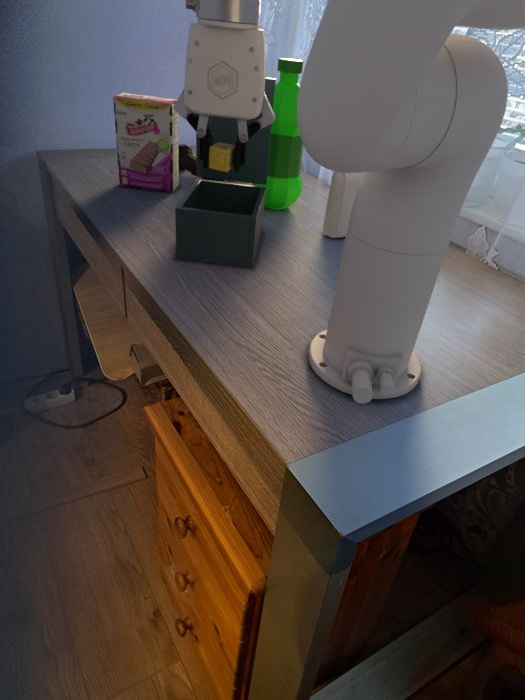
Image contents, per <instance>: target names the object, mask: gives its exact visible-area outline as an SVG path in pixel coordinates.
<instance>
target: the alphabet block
mask: <svg viewBox="0 0 525 700" xmlns="http://www.w3.org/2000/svg"><path fill="white" fill-rule="evenodd" d="M234 152H235V145H230V144H225V143H221V142H218V143H216V144H214V145H212V146H210V147H209V168H211V169H216V170H220V171H224V172H228V171H229V170H231V169H232V168H234Z"/></svg>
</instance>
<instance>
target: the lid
mask: <svg viewBox="0 0 525 700" xmlns="http://www.w3.org/2000/svg"><path fill="white" fill-rule="evenodd" d="M276 81H277V78H275V77H266V76H265V94H266V96H267V99H268V101H269V103H270V105H271V108H272V110H273V106H274V94H275V85H276V84H277V82H276ZM196 114H197V113H196ZM197 115H198V116H199V115H200V114H197ZM262 116H263V114H262V111H261V113H260V114H259V116H258V117H256V118H254V119H249V124H251V123H252V122H253V121H255V120H257V119H259V118H260V117H262ZM271 129H272V124H270V125H268V126H266V127H264V128H262V129H260V130H259V131H258V132H256V133H255V134H254V135H253V136H252V137H251V138H250V139H249V140H247V152H246V163H245V165H241V169H240V171H239V172H235V171H234V168H232V169H231V170H229V171H228V172H224V171H220V170H216V169H211V168H203V160H200V159H199V145H200V137H198V135H197V132H196V131H195V149H196V150H195V152H196V153H195V157H196V176H195V177H196V178H201V177H204V178H212V179H220V180H225V181H229V182H238V183H247V184H252V183H254V184H262V185H266V184H267V174H268V163H269V151H270V140H271ZM209 130H210V131H211V134H212V135H211V136H213V144H212V145H214V144H216V143H218V142H221V143H225V144H230V145H235V142H236V141H237V137H238V135H239V132H238V121H237V118H228V117H220V116H212V117H211V123H210V128H209Z"/></svg>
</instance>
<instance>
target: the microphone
mask: <svg viewBox="0 0 525 700" xmlns="http://www.w3.org/2000/svg"><path fill="white" fill-rule="evenodd" d="M178 148H179V172H180V171H187V172H190V174H191V175H192V176H194V177H197V176H196V156H195V155H194V154H193V149H192V148H190V147H189V146H188V145H187V144H186V143H182V144H178ZM200 179H203V180H211V181H219V182H226V180H220V179H212V178H204V177H200Z"/></svg>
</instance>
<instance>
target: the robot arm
mask: <svg viewBox="0 0 525 700" xmlns="http://www.w3.org/2000/svg"><path fill="white" fill-rule="evenodd" d="M261 4H262V0H185V9H186V10H191V11H192V12H194V13H195V17H196V18H197V21H190V23H189V28H188V35H187V43H186V53H185V65H184V85H183V90H182V91H181V93H180V95H179V96H178V98H177V99H176V100H177V101H176V103H175V105H174V110H175V111H176V112H177V113H178V116H180V117H181V118H183V119H185V120H186V121H187V123H188V124H189V125H190V126H191V128H192V129H193V130H194V131H195V133H196V132H197V135H198V137H200V145H199V159H200V160H203V168H209V147H210V146H212V144H213V136H211V135H212V134H211V131H210V130H209V128H210V123H211V117H212V116H220V117H228V118H237V121H238V132H239V135H238V137H237V141H236V142H235V152H234V171H235V172H239V171H240V169H241V165H245V163H246V152H247V140H249V139H250V138H251V137H252V136H253V135H254V134H255V133H256V132H258V131H259V130H260V129H262V128H264V127H266V126H268V125H270V124H272V123H273V122H274V121H275V115H274V112H273V110H272V108H271V105H270V103H269V101H268V99H267V96H266V94H265V77H266V61H267V59H266V58H267V57H266V38H265V37H266V36H265V30H264V29H263V28H260V21H261V20H260V18H261ZM456 27H464V28H473V29H481V30H491V31H492V30H495V31H512V30H523V29H525V0H327V3H326V5H325V9H324V11H323V14H322V16H321V19H320V22H319V25H318V28H317V30H316V33H315V35H314V38H313V41H312V44H311V48H310V50H309V53H308V55H307V59H306V62H305V65H304V67H303V71H302V76H301V79H300V84H299V85H300V89H299V95H298V104H297V120H298V129H299V134H300V137H301V140H302V143H303V148H304V149H305V151H306V153H307V154H308V156H309V157H310V158H311V159H312V160H313V161H314V162H315V163H316V164H318V165H319V166H320V167H322V168H325V169H327V170H329V171H332V172H334V171H336V172H342V173H362V172H367V173H366V175H365V176H364V178H363V180H362V182H361V184H360V186H359V189H358V191H357V194H356V196H355V199H354V202H353V205H352V209H351V213H350V218H349V223H348V228H347V233H346V237H345V238H344V243H343V248H342V253H341V258H340V264H339V268H338V274H337V279H336V284H335V287H334V288H335V289H334V293H333V298H332V299H333V300H332V304H331V308H330V314H329V319H328V324H327V328H326V329H325V330H322V331H320V332H319V333H317V334H316V335H315V336H314V337H313V339H311V342H310V344H309V348H308V362H309V364H310V366H311V367H310V368H311V369H312V370H313V371H314V373H315V374H316V375H317V376H318V377H319V378H320V379H321V380H322V381H323V382H325V383H326V384H327V385H329V386H331V387H332V388H334V389H336V390H338V391H340V392H343V393H346V394H348V395H350V396H352V398H353V401H354V402H356V403H357V404H368V403H370V402H371V401H372V400H389V399H393V398H399V397H402V396H404V395H406V394H408V393H410V392H412V390H414V389H415V388H416V386H417V385H418V383H419V380H420V378H421V375H422V370H423V369H422V363H421V361H420V359H419V357H418V355H417V354H416V352H415V351H414V349H415V346H416V343H417V341H418V337H419V334H420V331H421V329H422V325H423V322H424V320H425V316H426V312H427V310H428V307H429V303H430V300H431V298H432V294H433V291H434V289H435V286H436V283H437V280H438V277H439V273H440V271H441V268H442V264H443V262H444V259H445V256H446V252H447V250H448V247H449V246H450V242H451V239H452V236H453V234H454V232H455V231H454V230H455V227H456V224H457V222H458V219H459V216H460V213H461V211H462V208H463V205H464V203H465V201H466V198H467V196H468V193H469V191H470V189H471V186H472V185H473V183H474V180H475V178H476V176H477V175H478V172H479V170H480V168H481V167H482V165H483V163H484V161H485V159H486V158H487V156H488V154H489V152H490V150H491V148H492V146H493V144H494V142H495V140H496V138H497V135H498V133H499V132H500V129H501V127H502V123H503V120H504V117H505V114H506V110H507V105H508V98H509V96H508V95H509V87H508V86H509V85H508V84H509V83H508V78H507V73H506V70H505V68H504V64H503V63H502V61H501V59H500V58H499V56H498V55H497V54H496V52H494V50H493V49H492V48H491V47H489V46H488V45H487V44H486V43H485V42H482V41H480V40H478V39H476V38H474V37H471V36H468V35H464V34H459V33H455V32H453V31H454V29H455V28H456ZM261 111H262V114H263V116H262V117H260V118H259V119H257V120H255V121H253V122H252V123H251V124H249V119H254V118H256V117H258V116H259V114H260V113H261ZM196 113H197V114H200V115H199V116H198V115H197V114H196Z"/></svg>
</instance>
